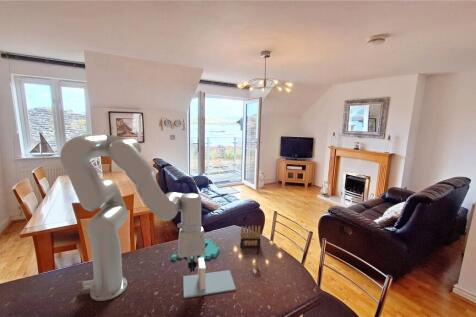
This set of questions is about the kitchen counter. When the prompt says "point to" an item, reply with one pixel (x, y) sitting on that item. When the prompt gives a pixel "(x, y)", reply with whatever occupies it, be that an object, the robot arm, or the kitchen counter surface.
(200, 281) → the tile
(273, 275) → the kitchen counter surface
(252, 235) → the ammunition clip
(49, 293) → the kitchen counter surface
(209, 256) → the alien figure
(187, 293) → the mat
